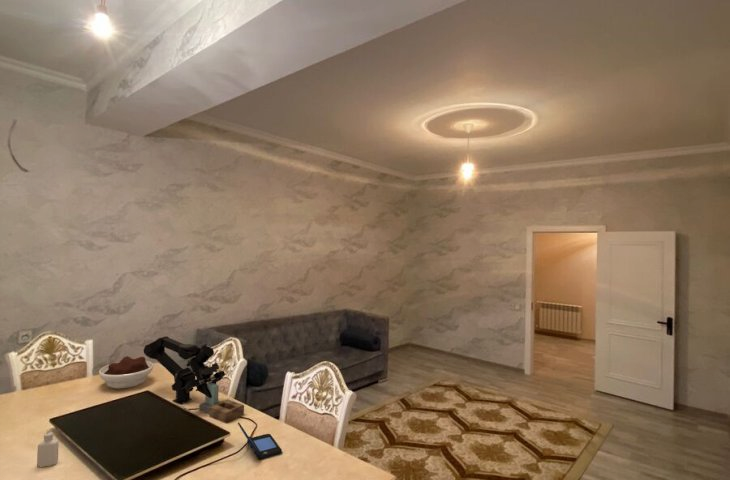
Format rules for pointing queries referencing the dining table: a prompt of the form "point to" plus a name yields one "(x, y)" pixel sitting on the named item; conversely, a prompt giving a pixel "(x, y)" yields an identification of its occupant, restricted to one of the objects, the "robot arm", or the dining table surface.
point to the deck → (205, 407)
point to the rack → (226, 411)
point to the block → (214, 392)
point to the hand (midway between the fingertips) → (213, 396)
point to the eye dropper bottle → (47, 450)
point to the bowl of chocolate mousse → (126, 372)
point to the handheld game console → (262, 445)
